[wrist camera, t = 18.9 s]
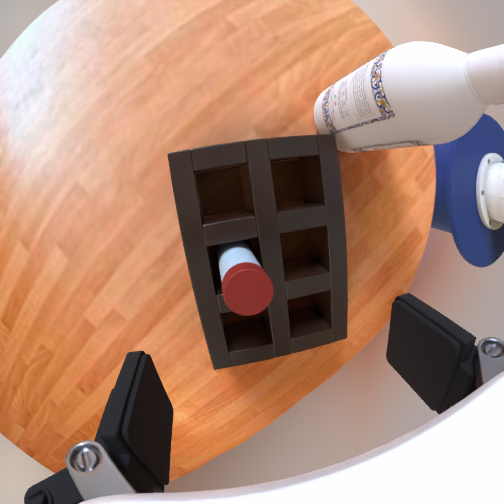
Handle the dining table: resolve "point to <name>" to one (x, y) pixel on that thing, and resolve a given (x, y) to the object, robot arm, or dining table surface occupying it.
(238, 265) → the test tube
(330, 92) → the bath foam
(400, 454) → the robot arm
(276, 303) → the rack
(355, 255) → the dining table surface
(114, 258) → the dining table surface
